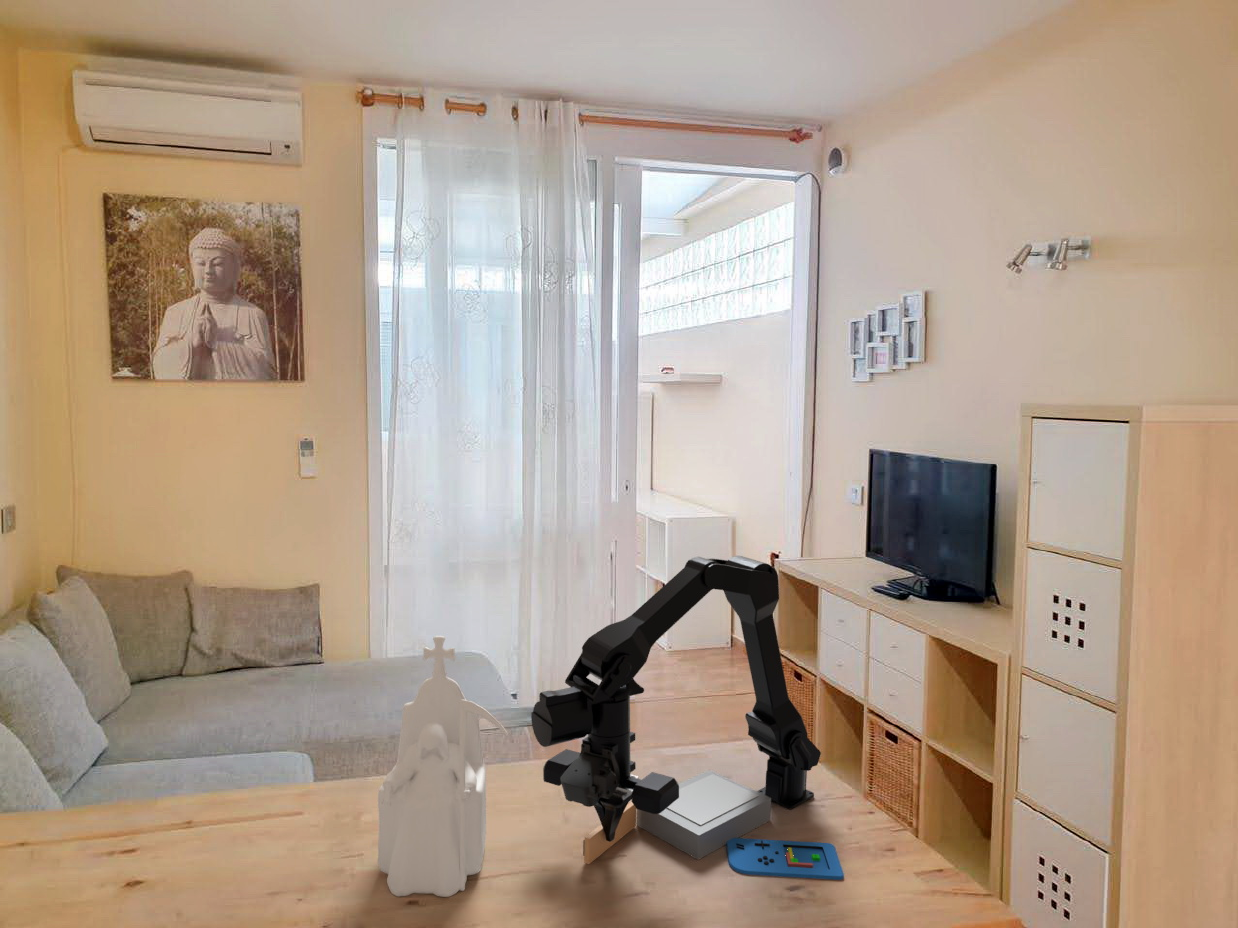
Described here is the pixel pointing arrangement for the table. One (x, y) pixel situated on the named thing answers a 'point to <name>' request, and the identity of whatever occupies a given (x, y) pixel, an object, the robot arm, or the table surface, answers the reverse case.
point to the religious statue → (435, 790)
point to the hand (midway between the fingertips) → (610, 839)
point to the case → (707, 814)
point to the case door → (597, 839)
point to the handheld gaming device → (784, 858)
